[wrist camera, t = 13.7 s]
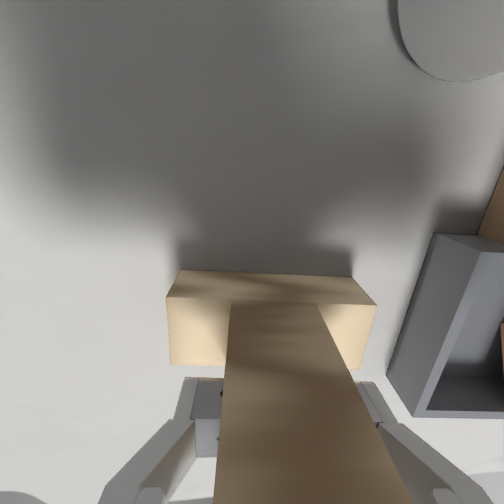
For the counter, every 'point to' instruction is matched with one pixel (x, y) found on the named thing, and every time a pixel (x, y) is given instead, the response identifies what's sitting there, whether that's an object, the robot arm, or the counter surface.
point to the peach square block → (503, 340)
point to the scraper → (285, 386)
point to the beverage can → (454, 37)
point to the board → (494, 215)
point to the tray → (454, 332)
